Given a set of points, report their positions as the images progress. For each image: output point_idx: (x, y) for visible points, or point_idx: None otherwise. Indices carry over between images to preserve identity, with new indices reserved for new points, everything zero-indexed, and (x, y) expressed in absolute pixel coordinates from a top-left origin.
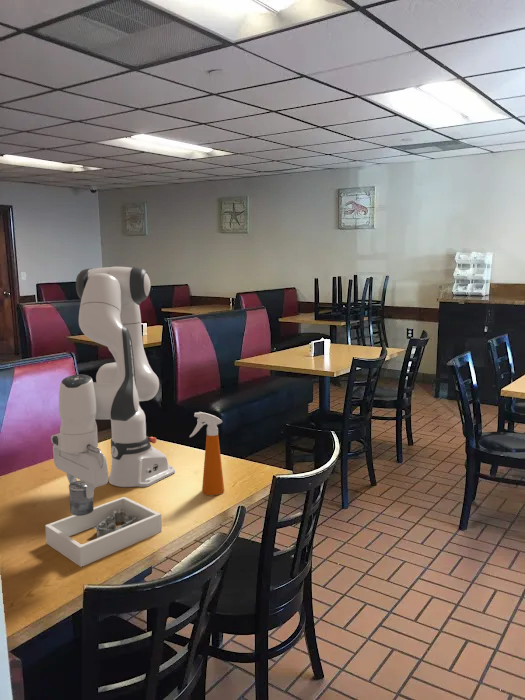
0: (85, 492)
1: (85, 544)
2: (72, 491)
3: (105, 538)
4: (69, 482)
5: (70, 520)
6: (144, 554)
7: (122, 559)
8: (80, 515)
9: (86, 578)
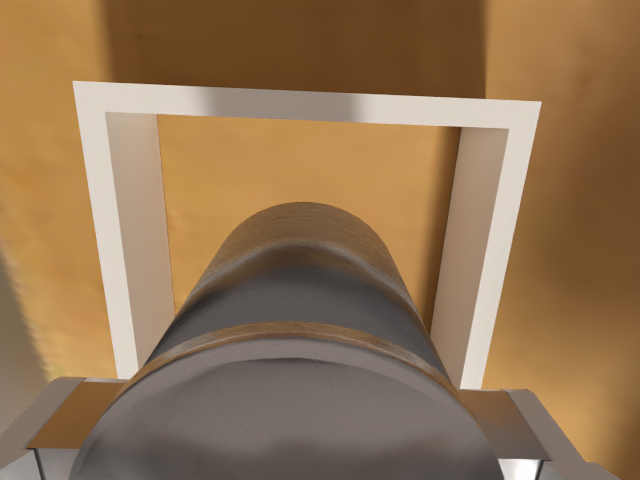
0: (63, 432)
1: (92, 130)
2: (243, 324)
3: (104, 256)
4: (597, 473)
5: (477, 257)
6: (50, 331)
7: (71, 252)
8: (228, 236)
9: (14, 41)
